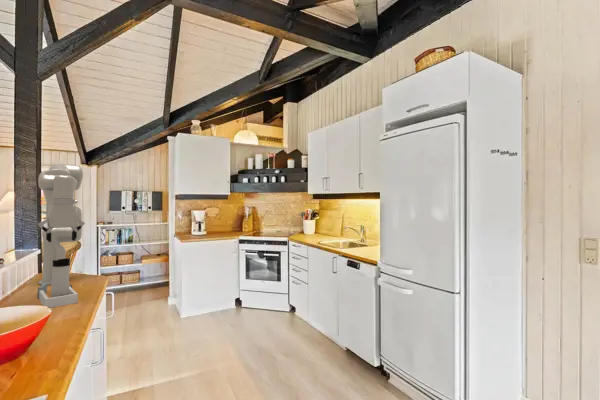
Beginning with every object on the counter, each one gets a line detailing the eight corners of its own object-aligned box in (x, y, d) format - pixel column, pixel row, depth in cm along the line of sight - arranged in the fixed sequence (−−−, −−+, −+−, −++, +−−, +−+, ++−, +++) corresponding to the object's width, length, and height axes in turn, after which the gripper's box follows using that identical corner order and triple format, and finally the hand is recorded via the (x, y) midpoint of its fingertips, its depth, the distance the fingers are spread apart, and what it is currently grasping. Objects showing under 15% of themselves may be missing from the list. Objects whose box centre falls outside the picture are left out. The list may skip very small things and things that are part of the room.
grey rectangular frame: (38, 298, 141) (38, 288, 141) (71, 292, 150) (71, 284, 150) (45, 308, 128) (45, 298, 128) (80, 302, 138) (80, 292, 138)
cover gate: (36, 299, 140) (37, 288, 140) (43, 292, 149) (44, 281, 149) (40, 298, 140) (41, 287, 140) (47, 292, 150) (47, 281, 150)
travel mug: (58, 305, 133) (60, 259, 133) (46, 303, 134) (49, 258, 135) (72, 300, 139) (74, 257, 139) (60, 299, 141) (62, 256, 141)
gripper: (84, 202, 146) (82, 238, 146) (36, 202, 133) (35, 241, 133) (88, 203, 141) (86, 240, 141) (39, 202, 128) (37, 243, 128)
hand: (61, 240), depth 137 cm, fingers open, 8 cm apart
